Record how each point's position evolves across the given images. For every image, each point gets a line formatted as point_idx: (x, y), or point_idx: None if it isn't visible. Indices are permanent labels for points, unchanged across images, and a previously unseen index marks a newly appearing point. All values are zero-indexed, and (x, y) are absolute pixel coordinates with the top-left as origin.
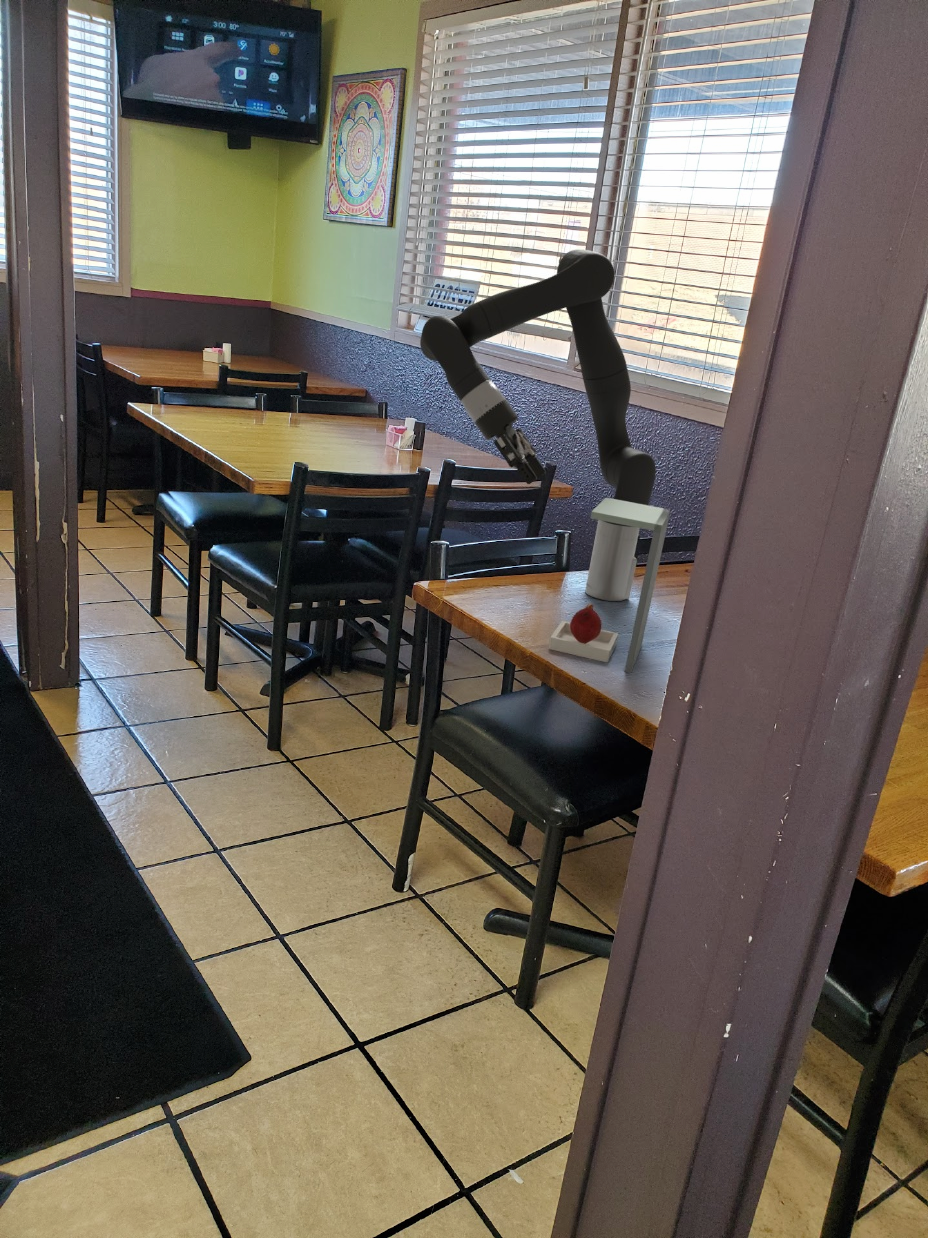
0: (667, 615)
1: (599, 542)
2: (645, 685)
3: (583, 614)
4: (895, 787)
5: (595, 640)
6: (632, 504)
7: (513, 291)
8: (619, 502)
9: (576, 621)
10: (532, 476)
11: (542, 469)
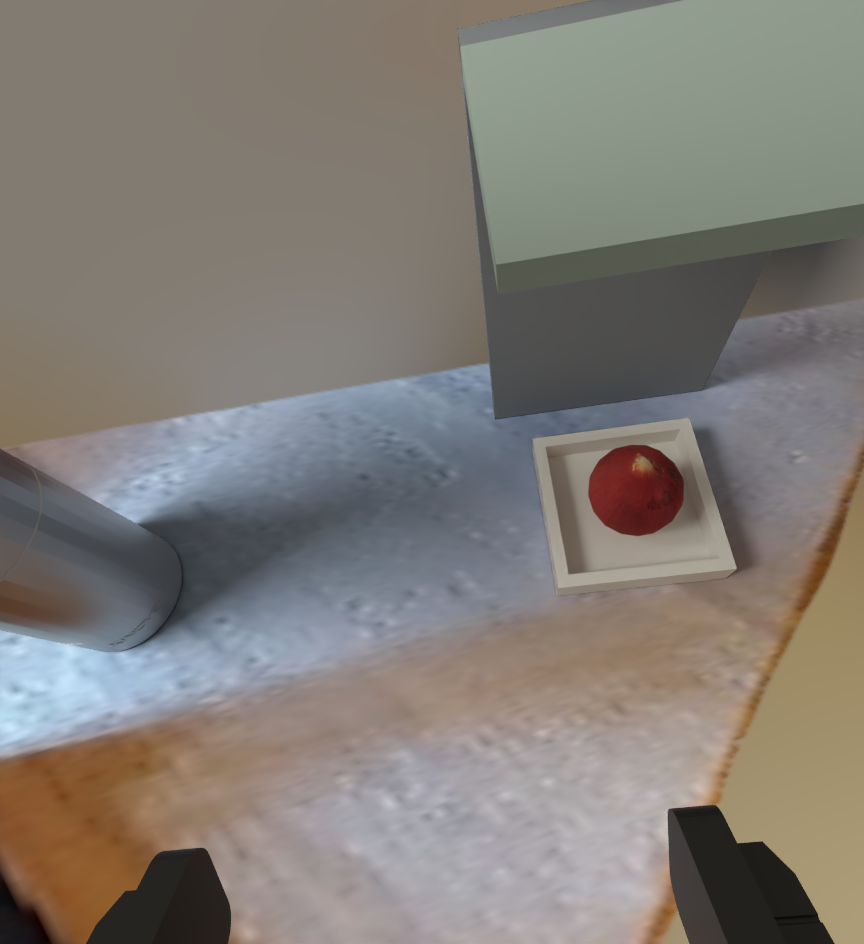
0: (208, 419)
1: (32, 585)
2: (743, 337)
3: (672, 479)
4: None
5: (566, 493)
6: (538, 133)
7: None
8: (563, 180)
9: (678, 502)
10: (772, 857)
11: (183, 899)
